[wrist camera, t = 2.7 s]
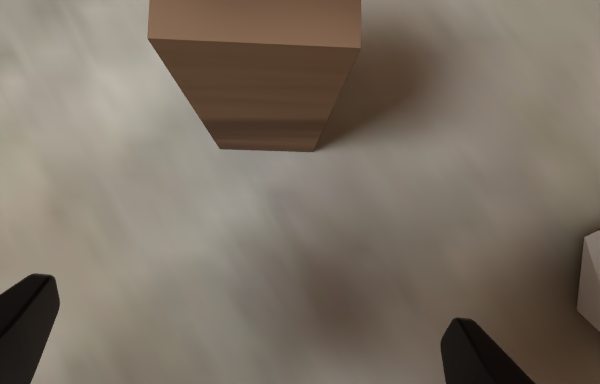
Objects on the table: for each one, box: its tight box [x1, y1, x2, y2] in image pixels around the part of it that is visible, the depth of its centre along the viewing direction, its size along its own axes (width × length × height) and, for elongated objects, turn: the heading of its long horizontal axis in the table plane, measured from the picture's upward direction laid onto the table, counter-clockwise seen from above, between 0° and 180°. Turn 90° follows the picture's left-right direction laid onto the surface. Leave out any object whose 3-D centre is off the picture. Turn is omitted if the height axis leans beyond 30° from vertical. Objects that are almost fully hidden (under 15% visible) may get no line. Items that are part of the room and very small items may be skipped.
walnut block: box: [148, 0, 361, 152], centre depth 17 cm, size 5×5×13 cm
